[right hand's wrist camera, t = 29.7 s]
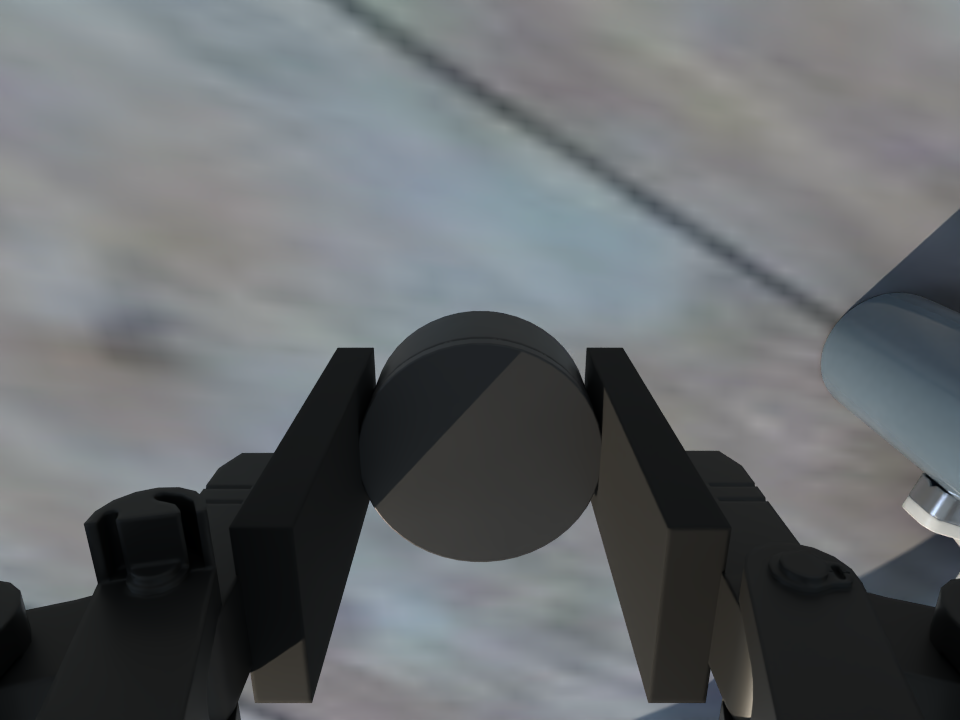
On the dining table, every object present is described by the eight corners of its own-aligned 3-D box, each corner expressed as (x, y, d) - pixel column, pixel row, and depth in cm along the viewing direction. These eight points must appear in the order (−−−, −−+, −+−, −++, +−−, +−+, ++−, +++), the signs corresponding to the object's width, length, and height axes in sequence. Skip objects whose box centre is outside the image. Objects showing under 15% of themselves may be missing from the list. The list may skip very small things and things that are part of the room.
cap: (585, 303, 14) (603, 335, 12) (587, 498, 15) (603, 556, 13) (361, 316, 14) (341, 351, 12) (386, 509, 15) (372, 568, 13)
